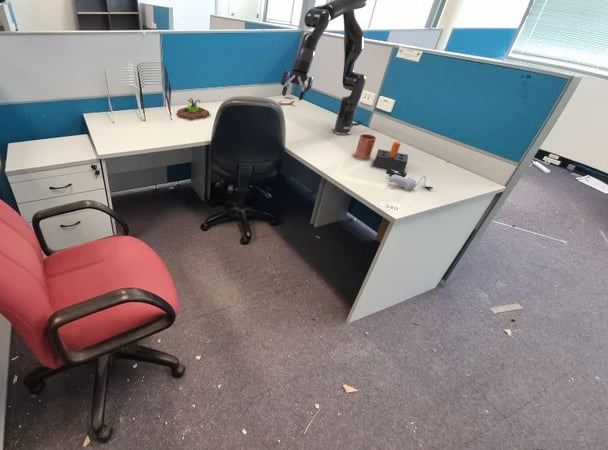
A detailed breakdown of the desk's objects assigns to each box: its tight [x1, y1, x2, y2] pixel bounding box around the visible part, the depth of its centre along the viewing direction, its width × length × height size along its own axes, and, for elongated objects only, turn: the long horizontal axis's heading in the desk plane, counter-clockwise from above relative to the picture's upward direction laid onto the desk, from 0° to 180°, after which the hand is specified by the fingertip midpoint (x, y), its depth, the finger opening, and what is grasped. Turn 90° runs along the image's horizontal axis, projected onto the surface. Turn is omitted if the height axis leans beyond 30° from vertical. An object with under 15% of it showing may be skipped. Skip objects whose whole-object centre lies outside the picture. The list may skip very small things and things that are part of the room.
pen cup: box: [354, 133, 377, 161], centre depth 167 cm, size 7×7×11 cm
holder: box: [372, 148, 409, 172], centre depth 160 cm, size 10×13×6 cm
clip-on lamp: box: [385, 169, 434, 191], centre depth 145 cm, size 12×6×18 cm
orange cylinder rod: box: [389, 141, 402, 158], centre depth 157 cm, size 3×3×12 cm
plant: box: [176, 97, 210, 121], centre depth 219 cm, size 20×20×11 cm
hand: (291, 97), depth 155 cm, fingers open, 8 cm apart
